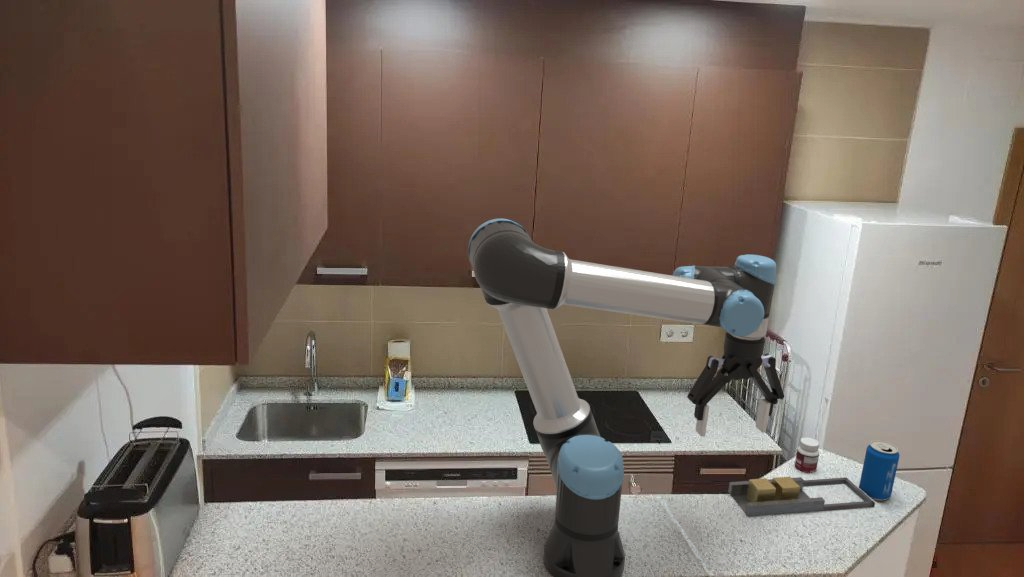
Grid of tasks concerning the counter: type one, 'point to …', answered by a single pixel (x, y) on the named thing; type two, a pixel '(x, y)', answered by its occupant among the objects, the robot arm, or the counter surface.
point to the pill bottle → (807, 455)
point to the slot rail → (774, 507)
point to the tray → (841, 506)
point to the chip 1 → (760, 490)
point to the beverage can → (879, 470)
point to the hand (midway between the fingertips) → (730, 431)
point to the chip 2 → (785, 488)
